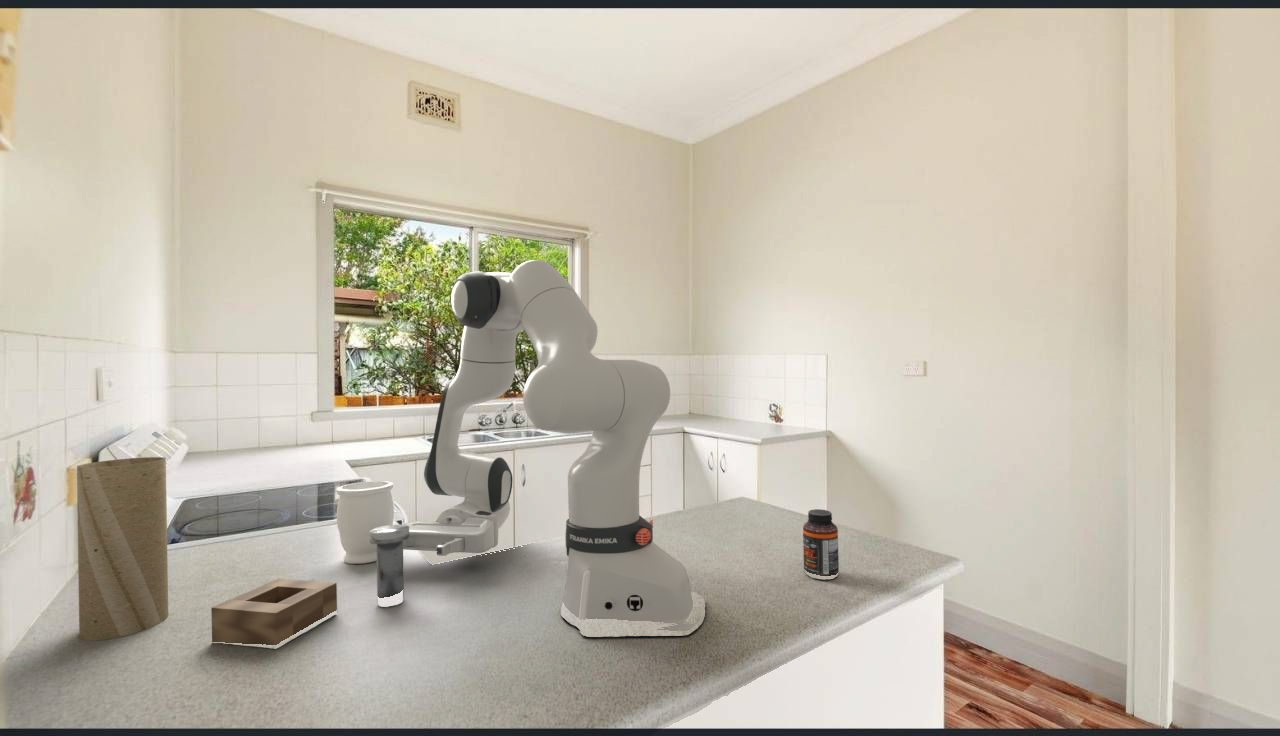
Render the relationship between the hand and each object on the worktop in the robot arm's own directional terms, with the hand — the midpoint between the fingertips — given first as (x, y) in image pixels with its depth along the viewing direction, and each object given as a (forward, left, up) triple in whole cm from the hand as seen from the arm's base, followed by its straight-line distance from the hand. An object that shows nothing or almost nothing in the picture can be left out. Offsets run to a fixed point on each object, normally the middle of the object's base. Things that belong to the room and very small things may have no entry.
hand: (416, 550), depth 97 cm
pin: (0, +7, -6) cm, 9 cm away
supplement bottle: (-70, -16, -7) cm, 72 cm away
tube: (+36, +21, -7) cm, 42 cm away
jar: (+20, -12, -7) cm, 24 cm away
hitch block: (+11, +18, -6) cm, 22 cm away
